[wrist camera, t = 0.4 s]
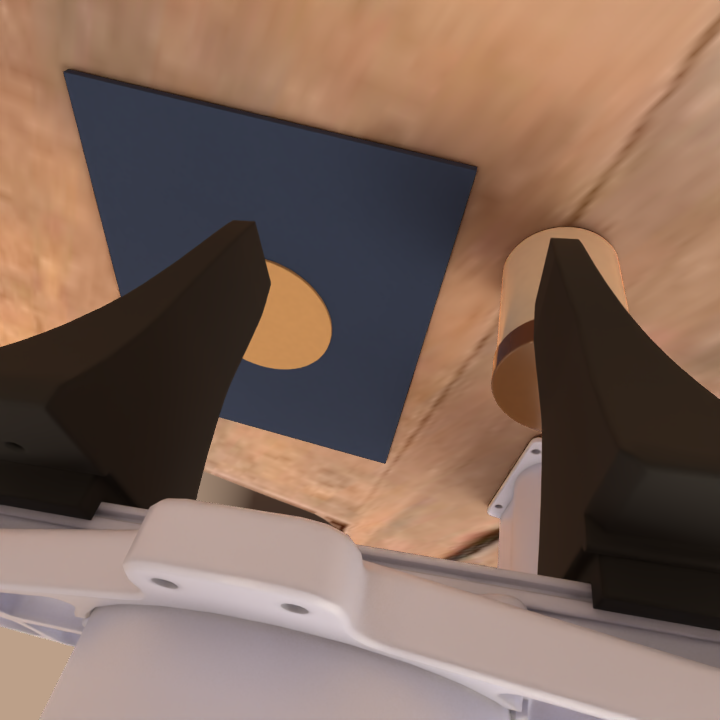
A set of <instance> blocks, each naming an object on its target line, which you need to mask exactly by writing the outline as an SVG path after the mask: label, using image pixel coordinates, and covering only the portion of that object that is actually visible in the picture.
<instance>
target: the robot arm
mask: <svg viewBox="0 0 720 720" xmlns="http://www.w3.org/2000/svg"><path fill="white" fill-rule="evenodd" d="M270 286H271V280H270V277H269V273H268V269H267V265H266V261H265V257H264V253H263V249H262V245H261V242H260V238H259V234H258V230H257V226H256V222H255V221H240V220H232V221H231V222H229V223H228V224H226V225H225V226H223V227H222V228H220V229H219V230H218V231H216V232H215V233H214V234H212V235H211V236H210V237H208V238H207V239H206V240H204V241H203V242H202V243H200V244H199V245H198V246H196V247H195V248H194V249H192V250H191V251H190V252H188V253H187V254H185V255H184V256H183V257H181V258H180V259H179V260H177V261H176V262H175V263H173V264H172V265H170V266H169V267H167V268H166V269H164V270H163V271H161V272H160V273H158V274H157V275H155V276H154V277H153V278H151V279H150V280H148V281H147V282H145V283H144V284H142V285H140V286H139V287H137V288H136V289H134V290H132V291H130V292H129V293H127V294H125V295H123V296H122V297H120V298H118V299H116V300H114V301H113V302H111V303H109V304H107V305H105V306H103V307H101V308H99V309H97V310H95V311H93V312H90V313H88V314H86V315H84V316H82V317H80V318H78V319H75V320H73V321H71V322H69V323H67V324H64V325H62V326H59V327H57V328H54V329H52V330H49V331H47V332H44V333H41V334H39V335H36V336H33V337H30V338H28V339H25V340H22V341H19V342H16V343H13V344H9V345H6V346H3V347H0V627H4V628H8V629H11V630H15V631H19V632H22V633H26V634H29V635H33V636H37V637H40V638H44V639H48V640H51V641H55V642H58V643H62V644H66V645H69V646H73V647H75V648H74V650H73V652H72V654H71V656H70V658H69V660H68V662H67V664H66V666H65V668H64V670H63V672H62V674H61V676H60V678H59V680H58V682H57V684H56V686H55V688H54V690H53V692H52V695H51V696H50V699H49V701H48V702H47V704H46V707H45V708H44V710H43V712H42V715H41V717H40V719H39V720H720V399H719V398H717V397H716V396H715V395H713V394H712V393H711V392H709V391H708V390H707V389H705V388H704V387H703V386H702V385H701V384H699V383H698V382H697V381H696V380H695V379H693V378H692V377H691V376H690V375H689V374H687V373H686V372H685V371H684V370H683V369H681V368H680V367H679V366H678V365H677V364H676V363H675V362H674V361H673V360H672V359H670V358H669V357H668V356H667V355H666V354H665V353H664V352H663V351H662V350H661V349H660V348H659V347H658V346H657V345H656V344H655V343H654V342H653V341H652V340H651V339H650V338H649V336H648V335H647V334H646V333H645V332H644V331H643V330H642V329H641V327H640V326H639V325H638V324H637V323H636V321H635V320H634V319H633V318H632V317H631V315H630V314H629V313H628V312H627V310H626V309H625V308H624V306H623V305H622V304H621V302H620V301H619V300H618V298H617V297H616V295H615V294H614V293H613V291H612V290H611V288H610V287H609V286H608V284H607V283H606V281H605V280H604V278H603V277H602V275H601V273H600V272H599V270H598V269H597V267H596V266H595V264H594V262H593V261H592V259H591V257H590V256H589V254H588V252H587V251H586V249H585V247H584V245H583V244H582V242H581V241H580V240H579V239H568V238H551V239H550V243H549V247H548V251H547V255H546V259H545V264H544V268H543V272H542V276H541V280H540V284H539V288H538V293H537V297H536V301H535V311H534V350H535V361H536V371H537V381H538V390H539V400H540V410H541V424H542V438H540V437H537V438H534V439H532V440H531V441H530V443H529V444H528V446H527V447H526V449H525V450H524V452H523V454H522V455H521V457H520V458H519V460H518V461H517V463H516V464H515V466H514V467H513V469H512V471H511V472H510V474H509V475H508V477H507V478H506V480H505V481H504V483H503V484H502V486H501V488H500V489H499V491H498V492H497V494H496V495H495V497H494V498H493V500H492V501H491V503H490V505H489V506H488V509H487V513H488V514H489V515H490V516H493V517H497V518H500V531H499V550H498V568H494V567H488V566H482V565H476V564H470V563H464V562H458V561H452V560H446V559H440V558H434V557H428V556H422V555H416V554H410V553H404V552H398V551H392V550H386V549H380V548H374V547H368V546H363V545H357V544H355V543H354V542H353V541H352V539H351V538H350V537H349V535H347V534H345V533H343V532H341V531H340V530H338V529H336V528H334V527H332V526H330V525H328V524H325V523H321V522H317V521H314V520H310V519H306V518H302V517H296V516H290V515H284V514H277V513H271V512H265V511H259V510H253V509H247V508H241V507H234V506H228V505H222V504H216V503H210V502H203V501H197V500H196V498H197V493H198V489H199V485H200V481H201V478H202V473H203V470H204V466H205V462H206V459H207V455H208V451H209V448H210V445H211V441H212V438H213V435H214V431H215V428H216V424H217V421H218V418H219V415H220V412H221V409H222V406H223V403H224V400H225V397H226V394H227V392H228V389H229V387H230V384H231V382H232V380H233V378H234V375H235V373H236V371H237V369H238V367H239V365H240V363H241V360H242V358H243V356H244V354H245V352H246V350H247V348H248V345H249V343H250V341H251V339H252V337H253V335H254V332H255V330H256V328H257V326H258V324H259V321H260V319H261V317H262V314H263V311H264V308H265V304H266V301H267V297H268V294H269V290H270Z"/></svg>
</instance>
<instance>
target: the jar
mask: <svg viewBox="0 0 720 720" xmlns="http://www.w3.org/2000/svg"><path fill="white" fill-rule="evenodd" d="M551 238H568V239H579V240H580V241H581V242H582V244H583V245H584V247H585V249H586V251H587V252H588V254H589V256H590V257H591V259H592V261H593V262H594V264H595V266H596V267H597V269H598V270H599V272H600V273H601V275H602V277H603V278H604V280H605V281H606V283H607V284H608V286H609V287H610V288H611V290H612V291H613V293H614V294H615V295H616V297H617V298H618V300H619V301H620V302H621V304H622V305H623V306H624V308H625V309H626V310H627V312H628V313H629V308H628V303H627V298H626V293H625V288H624V283H623V278H622V273H621V268H620V263H619V259H618V256H617V253H616V252H615V250H614V248H613V247H612V246H611V245H610V243H609V242H607V241H606V240H605V239H604V238H602V237H601V236H599V235H598V234H596V233H593V232H591V231H589V230H585V229H582V228H576V227H557V228H551V229H547V230H543V231H541V232H538V233H535V234H533V235H532V236H530V237H528V238H526V239H525V240H523V241H522V242H521V243H520V244H519V245H517V246H516V247H515V249H514V250H513V251H512V252H511V253H510V255H509V256H508V258H507V260H506V262H505V265H504V268H503V274H502V286H501V299H500V312H499V325H498V338H497V350H496V352H495V355H494V359H493V368H492V381H491V387H492V393H493V396H494V398H495V401H496V402H497V404H498V405H499V407H500V408H501V409H502V410H503V412H504V413H506V414H507V415H508V416H509V417H510V418H512V419H513V420H515V421H516V422H518V423H520V424H522V425H524V426H526V427H529V428H532V429H535V430H538V431H542V424H541V410H540V400H539V390H538V381H537V371H536V361H535V350H534V311H535V301H536V297H537V293H538V288H539V284H540V280H541V276H542V272H543V268H544V264H545V259H546V255H547V251H548V247H549V243H550V239H551ZM629 314H630V313H629Z"/></svg>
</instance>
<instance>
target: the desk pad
mask: <svg viewBox="0 0 720 720" xmlns="http://www.w3.org/2000/svg"><path fill="white" fill-rule="evenodd" d="M64 77H65V80H66V84H67V88H68V92H69V96H70V100H71V104H72V108H73V112H74V116H75V120H76V123H77V127H78V131H79V135H80V139H81V143H82V147H83V151H84V155H85V159H86V163H87V166H88V170H89V174H90V178H91V182H92V186H93V190H94V194H95V198H96V202H97V205H98V209H99V213H100V217H101V221H102V225H103V229H104V233H105V237H106V241H107V245H108V248H109V252H110V256H111V260H112V264H113V268H114V272H115V276H116V280H117V284H118V287H119V291H120V295H121V297H122V296H123V295H125V294H127V293H129V292H130V291H132V290H134V289H136V288H137V287H139V286H140V285H142V284H144V283H145V282H147V281H148V280H150V279H151V278H153V277H154V276H155V275H157V274H158V273H160V272H161V271H163V270H164V269H166V268H167V267H169V266H170V265H172V264H173V263H175V262H176V261H177V260H179V259H180V258H181V257H183V256H184V255H185V254H187V253H188V252H190V251H191V250H192V249H194V248H195V247H196V246H198V245H199V244H200V243H202V242H203V241H204V240H206V239H207V238H208V237H210V236H211V235H212V234H214V233H215V232H216V231H218V230H219V229H220V228H222V227H223V226H225V225H226V224H228V223H229V222H231V221H232V220H240V221H255V222H256V226H257V230H258V234H259V238H260V242H261V245H262V249H263V253H264V257H265V261H266V265H267V269H268V273H269V277H270V280H271V286H270V290H269V294H268V297H267V301H266V304H265V308H264V311H263V314H262V317H261V319H260V321H259V324H258V326H257V328H256V330H255V332H254V335H253V337H252V339H251V341H250V343H249V345H248V348H247V350H246V352H245V354H244V356H243V358H242V360H241V363H240V365H239V367H238V369H237V371H236V373H235V375H234V378H233V380H232V382H231V384H230V387H229V389H228V392H227V394H226V397H225V400H224V403H223V406H222V409H221V412H220V415H219V417H220V418H224V419H228V420H231V421H235V422H238V423H242V424H245V425H249V426H252V427H256V428H260V429H263V430H267V431H270V432H274V433H277V434H281V435H285V436H288V437H292V438H295V439H299V440H302V441H306V442H309V443H313V444H317V445H320V446H324V447H327V448H331V449H334V450H338V451H341V452H345V453H349V454H352V455H356V456H359V457H363V458H366V459H370V460H374V461H377V462H381V463H384V464H385V463H386V460H387V457H388V454H389V450H390V447H391V444H392V441H393V438H394V434H395V431H396V428H397V425H398V422H399V418H400V415H401V412H402V409H403V406H404V402H405V399H406V396H407V393H408V390H409V386H410V383H411V380H412V377H413V374H414V370H415V367H416V364H417V361H418V358H419V354H420V351H421V348H422V345H423V342H424V338H425V335H426V332H427V329H428V326H429V322H430V319H431V316H432V313H433V310H434V306H435V303H436V300H437V297H438V294H439V290H440V287H441V284H442V281H443V278H444V275H445V271H446V268H447V265H448V262H449V259H450V255H451V252H452V249H453V246H454V243H455V239H456V236H457V233H458V230H459V227H460V223H461V220H462V217H463V214H464V211H465V207H466V204H467V201H468V198H469V195H470V191H471V188H472V185H473V182H474V179H475V175H476V172H477V167H475V166H471V165H467V164H463V163H459V162H454V161H450V160H446V159H442V158H438V157H434V156H429V155H425V154H421V153H417V152H413V151H408V150H404V149H400V148H396V147H392V146H388V145H383V144H379V143H375V142H371V141H367V140H362V139H358V138H354V137H350V136H346V135H342V134H337V133H333V132H329V131H325V130H321V129H317V128H312V127H308V126H304V125H300V124H296V123H291V122H287V121H283V120H279V119H275V118H271V117H266V116H262V115H258V114H254V113H250V112H245V111H241V110H237V109H233V108H229V107H225V106H220V105H216V104H212V103H208V102H204V101H200V100H195V99H191V98H187V97H183V96H179V95H174V94H170V93H166V92H162V91H158V90H154V89H149V88H145V87H141V86H137V85H133V84H128V83H124V82H120V81H116V80H112V79H108V78H103V77H99V76H95V75H91V74H87V73H83V72H78V71H74V70H70V69H68V70H66V71H64Z"/></svg>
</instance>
